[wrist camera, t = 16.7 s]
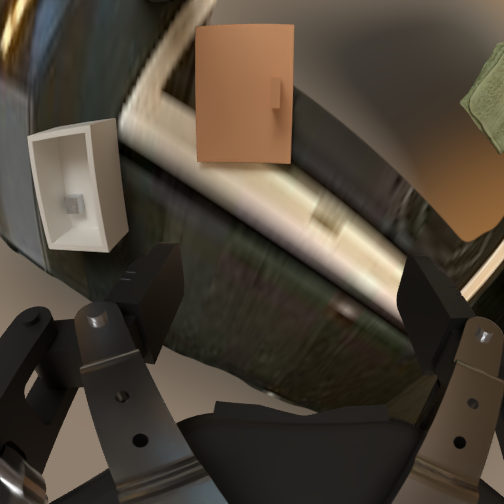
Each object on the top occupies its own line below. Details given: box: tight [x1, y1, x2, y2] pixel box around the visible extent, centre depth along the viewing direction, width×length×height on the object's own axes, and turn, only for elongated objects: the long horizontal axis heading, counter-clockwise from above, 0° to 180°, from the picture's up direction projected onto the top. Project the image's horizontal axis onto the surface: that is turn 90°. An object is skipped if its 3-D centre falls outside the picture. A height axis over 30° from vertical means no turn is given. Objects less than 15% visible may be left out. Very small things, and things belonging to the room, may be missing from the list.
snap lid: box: [195, 24, 294, 164], centre depth 39 cm, size 14×21×7 cm, turn 179°
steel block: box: [64, 194, 85, 214], centre depth 50 cm, size 3×3×2 cm
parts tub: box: [27, 118, 129, 252], centre depth 47 cm, size 13×20×8 cm, turn 179°
